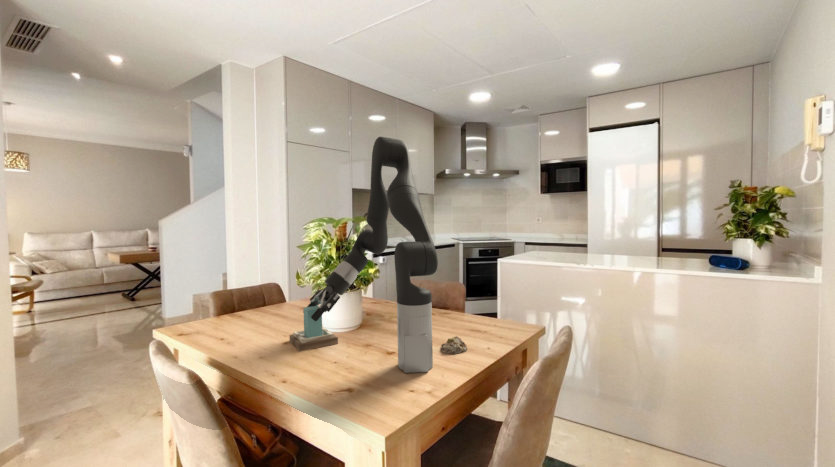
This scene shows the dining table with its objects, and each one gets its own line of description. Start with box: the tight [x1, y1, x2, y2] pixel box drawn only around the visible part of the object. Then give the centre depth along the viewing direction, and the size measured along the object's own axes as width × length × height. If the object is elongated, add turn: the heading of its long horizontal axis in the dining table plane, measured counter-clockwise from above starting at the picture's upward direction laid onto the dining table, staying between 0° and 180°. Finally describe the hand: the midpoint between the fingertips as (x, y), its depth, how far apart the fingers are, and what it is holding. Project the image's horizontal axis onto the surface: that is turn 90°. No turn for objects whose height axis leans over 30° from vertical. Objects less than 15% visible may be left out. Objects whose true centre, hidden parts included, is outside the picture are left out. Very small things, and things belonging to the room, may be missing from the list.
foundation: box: [289, 326, 339, 352], centre depth 122 cm, size 12×12×3 cm
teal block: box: [302, 305, 323, 338], centre depth 122 cm, size 4×4×9 cm
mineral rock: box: [440, 336, 468, 355], centre depth 114 cm, size 11×4×8 cm
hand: (309, 316), depth 121 cm, fingers open, 8 cm apart
